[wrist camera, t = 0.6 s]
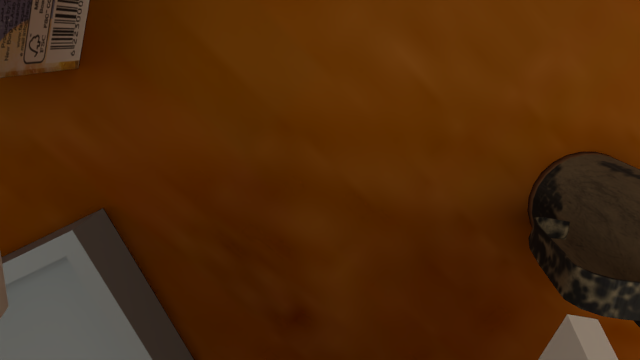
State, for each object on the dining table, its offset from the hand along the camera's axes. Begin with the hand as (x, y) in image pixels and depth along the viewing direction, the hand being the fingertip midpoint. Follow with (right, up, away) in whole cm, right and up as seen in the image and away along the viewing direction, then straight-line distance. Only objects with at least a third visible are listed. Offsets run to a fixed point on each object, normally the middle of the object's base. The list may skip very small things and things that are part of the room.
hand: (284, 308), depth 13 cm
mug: (+13, +2, +16) cm, 21 cm away
